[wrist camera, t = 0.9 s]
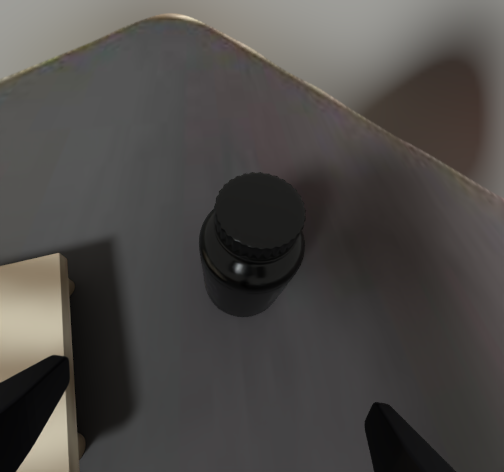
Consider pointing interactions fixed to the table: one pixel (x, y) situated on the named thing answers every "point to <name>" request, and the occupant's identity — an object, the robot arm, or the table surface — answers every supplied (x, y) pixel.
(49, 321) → the small stand
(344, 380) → the table surface
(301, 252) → the supplement bottle
